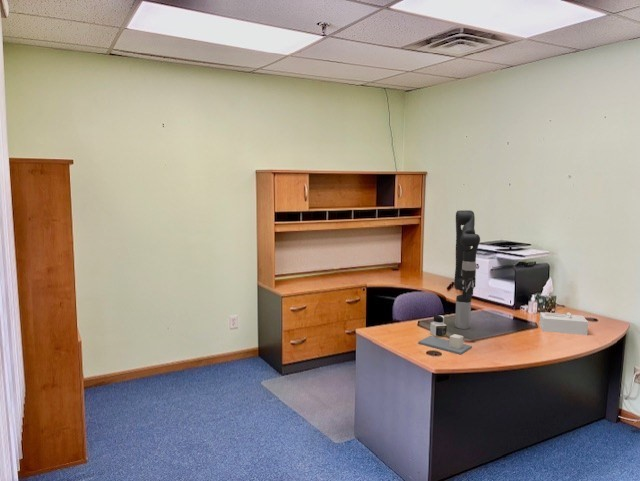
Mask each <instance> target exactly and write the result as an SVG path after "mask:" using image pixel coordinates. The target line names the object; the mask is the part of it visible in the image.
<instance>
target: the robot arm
mask: <svg viewBox="0 0 640 481" xmlns="http://www.w3.org/2000/svg"><path fill="white" fill-rule="evenodd" d="M475 218H476V217H475V213H474V211H473V210H471V209H470V210H466V209H465V210H456V212H455V234H456V236H455V271H454V282H453V283H454V288H455V290H458V291H461V292H462V293H461V294H458V295H457V296H456V298H455V317H454V319H455V322H454V327H455V328H457V329H460V330H461V329H462V330H468V329H470V328H471V313H472V311H471V310H472V296H473V295H474V290H475V288H476V277H477V276H476V274H477V273H476V271H477V263H476V261H477V253H478V252H477V250H478V249H479V245H480V242H481V237H480V235H479V234H477V233H476V230H475V224H476V223H475V220H476V219H475Z"/></svg>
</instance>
